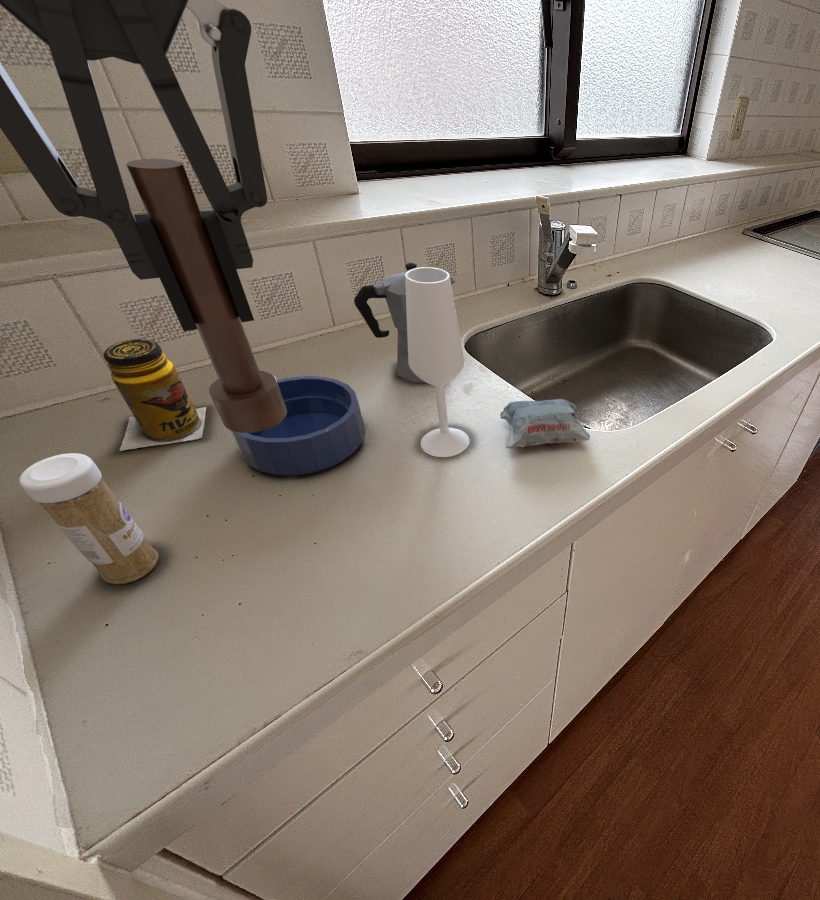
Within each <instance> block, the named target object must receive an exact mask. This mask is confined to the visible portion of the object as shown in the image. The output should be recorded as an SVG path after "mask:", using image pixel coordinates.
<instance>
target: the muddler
mask: <svg viewBox="0 0 820 900" xmlns="http://www.w3.org/2000/svg"><path fill="white" fill-rule="evenodd" d="M126 168H127V170H128V172H129V174H130V177H131V179H132V182H133V184H134V186H135V188H136V191H137V193H138V195H139V197H140V200H141V202H142V205H143V207H144V209H145V212H146V214H148V216H149V219H150V221H151V222H152V224H153V226H154V229H155V231H156V233H157V236H158V238H159V240H160V242H161V245H162V247H163V249H164V252H165V254H166V256H167V259H168V261H169V263H170V266H171V268H172V270H173V273H174V275H175V277H176V279H177V282H178V284H179V286H180V289H181V291H182V293H183V296H184V298H185V300H186V303H187V305H188V307H189V310H190V312H191V314H192V316H193V319H194V321H195V323H196V326H197V329H196V330H197V331H198V334H199V336H200V339H201V341H202V344H203V346H204V348H205V350H206V352H207V354H208V357H209V359H210V361H211V364H212V367H213V369H214V371H215V373H216V376H217V379H215V380H214V381H213V382H212V383H211V384H210V385H209V388H208V393H209V395H210V398H211V400H212V402H213V404H214V407H215V409H216V411H217V414H218V416H219V417H220V419H221V421H222V424H223V426H224V427H225V428H226V429H228V430H229V431H230V430H231V431H234V432H240V433H251V432H258V431H263V430H266V429H269V428H271V427H273V426H275V425H277V424H279V423H280V422H281V421H282V420H283V419H284V418H285V417H286V415H287V408H286V405H285V403H284V400H283V397H282V394H281V391H280V388H279V385H278V382H277V380H278V379H277V378H276V376H275V375H274V374H272V373H271V372H269V371H265V370H260V369H259V366H258V364H257V361H256V358H255V355H254V353H253V350H252V347H251V344H250V341H249V340H248V337H247V334H246V332H245V328H244V325H243V322H241V320H240V317H239V315H238V313H237V310H236V307H235V304H234V302H233V299H232V296H231V294H230V291H229V288H228V285H227V283H226V280H225V277H224V275H223V272H222V269H221V267H220V264H219V261H218V258H217V256H216V253H215V250H214V248H213V245H212V242H211V240H210V237H209V234H208V231H207V229H206V226H205V223H204V221H203V217H202V214H201V211H202V210H201V209H200V205H199V203H198V201H197V198H196V196H195V192H194V189H193V187H192V184H191V182H190V181H191V180H190V179H189V176H188V173H187V170H186V168H185V166H184V163H182V162H181V161H178V160H174V159H167V158H140V159H133V160H131V161H128V162H126ZM231 431H230V432H231Z"/></svg>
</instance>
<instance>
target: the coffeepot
mask: <svg viewBox="0 0 820 900" xmlns="http://www.w3.org/2000/svg"><path fill="white" fill-rule="evenodd" d="M405 268H406V271H401V272H398V273H395V274H392V275H389V276H386V277H383V278H382V282H379V283H372V284H369V285H363V286H361V288H360V289H359V290H358V292H357V293H356V295H355V297H354V299H353V301H354V306H355V307H356V309H357V310H358V312H359V313H360V315H361V317H362V318H363V320H364V321H365V324H367V326H368V328H369V329H370V331H371V332H372V334H373V336H374V337H375V338H376V339H381V338H386V337H387V338H388V337H389V336H390V330H389V329H387V330H381V328H380V324H379V321H378V319H376V318H375V316H374V313H373V311H372V308H371V306H370V305H369V304H368V301H369V300H370V299H385V301H386V304H387V307H388V311H389V313H390V317H391V320H392V323H393V326H394V328H395V329H397V343H396V344H397V348H396V350H397V354H396V356H397V357H396V375H397V376H398V377H400V378H401V379H403V380H405V381H407V382H409V383H415V384H428V383H427V382H425V381H423V380H421V379H420V378H419V377H418V376H416V375H415V374H414V372H413V371H412V370H411V368H410V366H409V363H408V338H407V311H406V284H405V274H406V272H407V271H409V270H411V269H415V268H418V266H417V263H415V262H407V263H405ZM450 280H451V286H452V285H453V284H455V283H456V280H454V279H453V278H452V277H450Z"/></svg>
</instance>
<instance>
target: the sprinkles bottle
mask: <svg viewBox="0 0 820 900" xmlns="http://www.w3.org/2000/svg"><path fill="white" fill-rule="evenodd" d="M18 480H19V481H18V482H19V485H20V486H21V488H22V489H23V490H24V491H25V493H26V494H27V495H28V496H29V498H30V499H31V500H33V501H35V502H37V503H38V504H39V505H41V507H42V508H43V509H44V510H45V511H46V512H47V514H48V515H49V516H50V517H51V518H52V520H53V521H54V523H55V525H56V526H57V527H58V529H60V531H62V533H63V534H64V535H65V536H66V537H67V539H69V541H70V542H71V543H72V544H73V545H74V546H75V548H76V549H77V550H78V551H79V552H80V553H81V554H82V556H83V557H84V558H85V559H86V560H87V561H88V562H89V563H91V564H92V565H93V566H94V567H95V568H96V570H97V571H98V572H99V574H100V576H101V578H102V580H103V581H104V582H106V583H108V584H112V585H124V584H128V583H132V582H135V581H138V580H139V579H141V578H143V577H145V576H146V575H147V574H149V573H150V572H151V571H153V569H154V568H156V566H157V564H158V561H159V558H160V556H159V555H160V554H159V552H158V551H157V550H156V548H153V546H152V545H151V543H149V541H148V539H147V538H146V537H145V535H144V533H143V531H142V530H141V529H140V527H139V526H138V524H137V523H136V522H135V520H134V519H133V518H132V516H131V515H130V514H129V512H128V511H127V509H126V508H125V507H124V506H123V504H122V503H121V501H119V500H118V498H117V497H116V496H115V494H114V493H113V491H112V490H111V489H110V488H109V486H108V485H107V483H106V482H105V480H103V475H102V472H101V470H100V468H99V467H98V466H97V465H96V463H95V462H94V460H93V459H92V458H91V457H90V456H88V455H86V454H83V453H77V452H76V453H75V452H74V453H72V452H70V453H61V454H56V455H53V456H50V457H47V458H44V459H42V460H39V461H37V462H34V463H33V464H32V465H30V466H29V467H28V468H26V469H25V470H24V471H23V472H22V473H21V475H20V476H19V479H18Z"/></svg>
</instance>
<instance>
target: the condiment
mask: <svg viewBox="0 0 820 900" xmlns="http://www.w3.org/2000/svg"><path fill="white" fill-rule="evenodd" d="M103 358H104V360H105V362H107V365H108V368H109V370H110V371H111V372H110V378H111V380H112V382H113V384H114V385H115V387H116V389H117V390H118V391H119V393H120V395H121V397H122V398H123V400H124V402H125V403H126V405H127V407H128V409H129V410H130V412H131V413H132V415H133V416H129V418H128V423H127V426H126V430H125V433H124V438H123V439H122V442H121V445H120V447H119V450H118V451H119V452H122V451H128V450H135V449H138V448H147V447H154V446H163V445H170V444H175V443H182V442H188V441H195V440H199V439H202V438H203V433H204V428H205V423H206V422H205V421H206V412H207V406H204V407H199V408H196V407H195V406H194V403H193V401H192V400H191V397H190V395H189V393H188V391H187V389H186V387H185V385H184V383H183V381H182V379H181V378H180V375H179V373H178V371H177V369H176V367H175V365H174V363H173V362H172V361H171V360H169V359H168V358H167V356H166V354H165V353H164V352H163V349H162V346H160V344H158V343H157V342H156V341H154V340H151V339H145V338H144V339H143V338H135V339H134V338H133V339H127V340H123V341H119V342H116V343H115V344H112V345H110V346H109V347H108V348H105V350H104V352H103Z"/></svg>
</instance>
